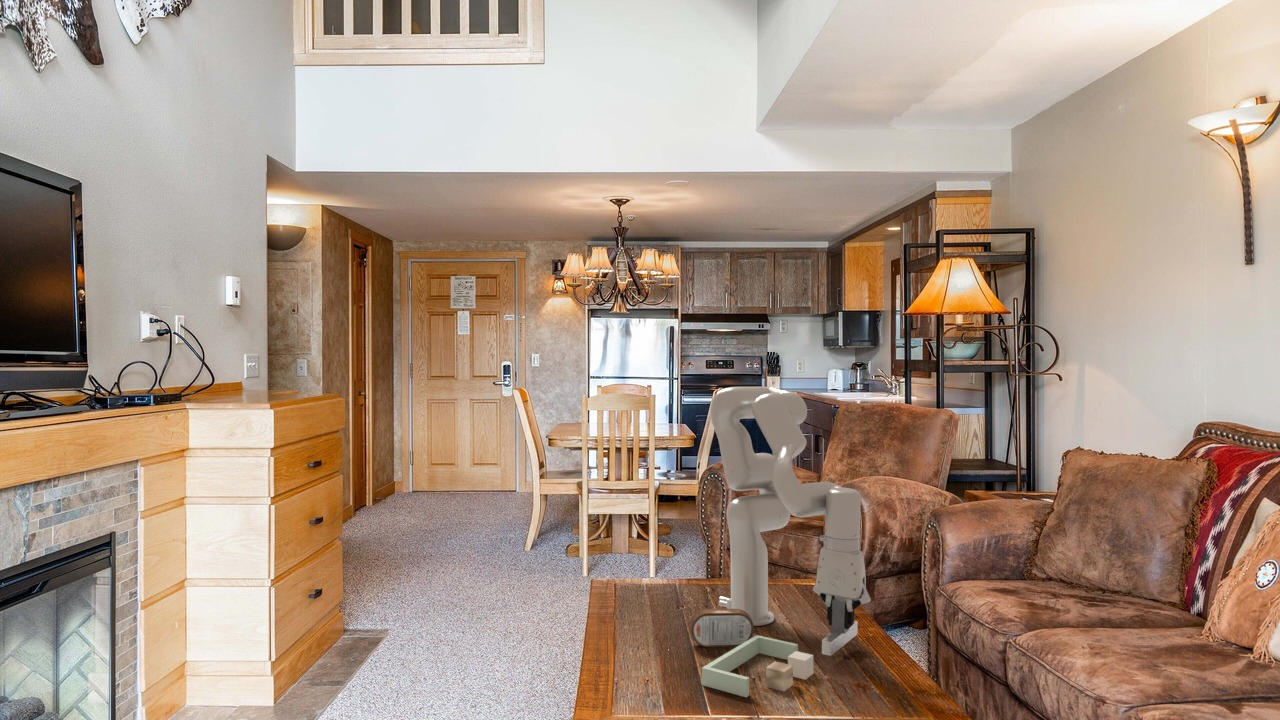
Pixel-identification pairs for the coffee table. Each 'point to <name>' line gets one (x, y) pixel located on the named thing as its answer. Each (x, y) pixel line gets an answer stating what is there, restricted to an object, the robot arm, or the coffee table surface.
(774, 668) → the maple block
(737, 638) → the tin
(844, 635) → the slider lever
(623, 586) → the coffee table surface
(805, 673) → the cream block
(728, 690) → the block corral
